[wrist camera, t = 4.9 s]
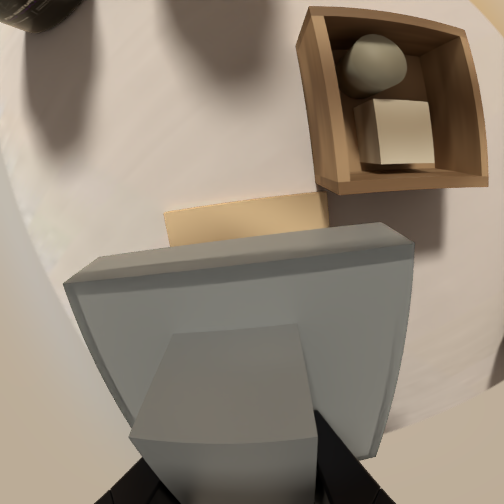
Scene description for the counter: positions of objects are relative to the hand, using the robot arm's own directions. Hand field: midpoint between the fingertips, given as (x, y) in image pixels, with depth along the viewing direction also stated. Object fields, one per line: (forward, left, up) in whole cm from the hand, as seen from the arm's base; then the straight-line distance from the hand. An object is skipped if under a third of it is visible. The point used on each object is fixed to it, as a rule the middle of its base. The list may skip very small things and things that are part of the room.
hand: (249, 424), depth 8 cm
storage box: (+9, -8, -10) cm, 16 cm away
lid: (0, 0, -3) cm, 3 cm away
